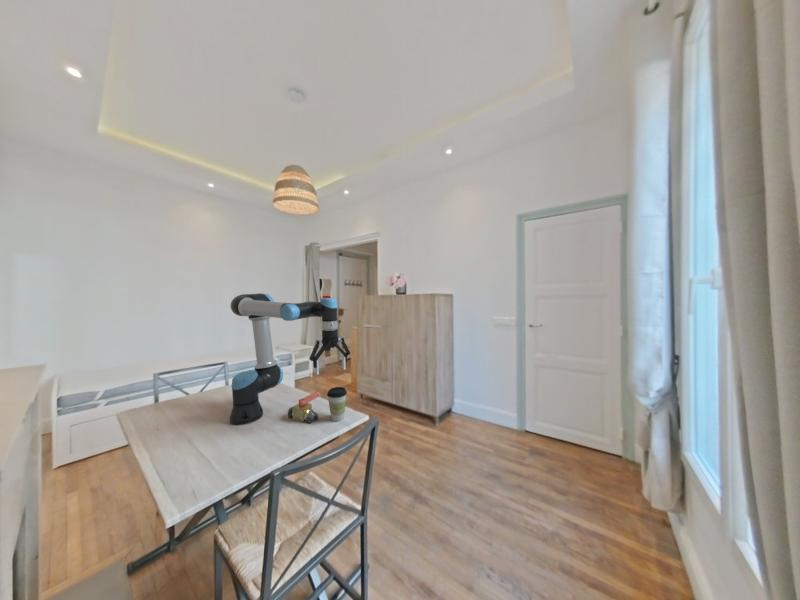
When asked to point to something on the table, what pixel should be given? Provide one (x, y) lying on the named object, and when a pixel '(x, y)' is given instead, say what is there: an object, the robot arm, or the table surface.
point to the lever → (308, 398)
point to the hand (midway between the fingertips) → (330, 371)
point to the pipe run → (303, 413)
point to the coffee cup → (337, 403)
